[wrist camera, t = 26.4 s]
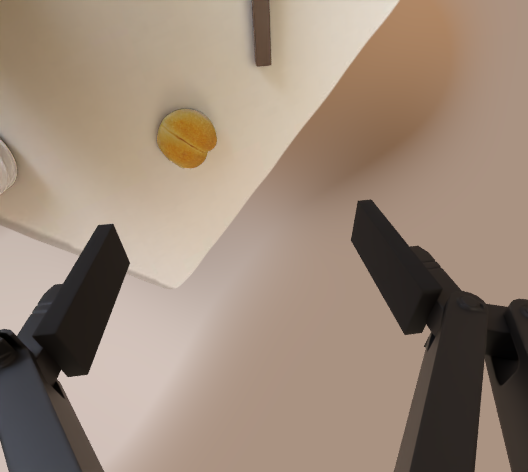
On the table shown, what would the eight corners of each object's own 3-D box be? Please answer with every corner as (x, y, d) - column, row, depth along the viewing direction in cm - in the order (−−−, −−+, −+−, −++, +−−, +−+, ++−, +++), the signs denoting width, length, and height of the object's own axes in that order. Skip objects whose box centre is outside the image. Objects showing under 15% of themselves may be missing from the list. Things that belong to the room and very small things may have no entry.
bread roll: (225, 129, 47) (225, 137, 43) (194, 171, 50) (192, 181, 47) (179, 93, 43) (176, 99, 40) (149, 141, 46) (144, 150, 43)
